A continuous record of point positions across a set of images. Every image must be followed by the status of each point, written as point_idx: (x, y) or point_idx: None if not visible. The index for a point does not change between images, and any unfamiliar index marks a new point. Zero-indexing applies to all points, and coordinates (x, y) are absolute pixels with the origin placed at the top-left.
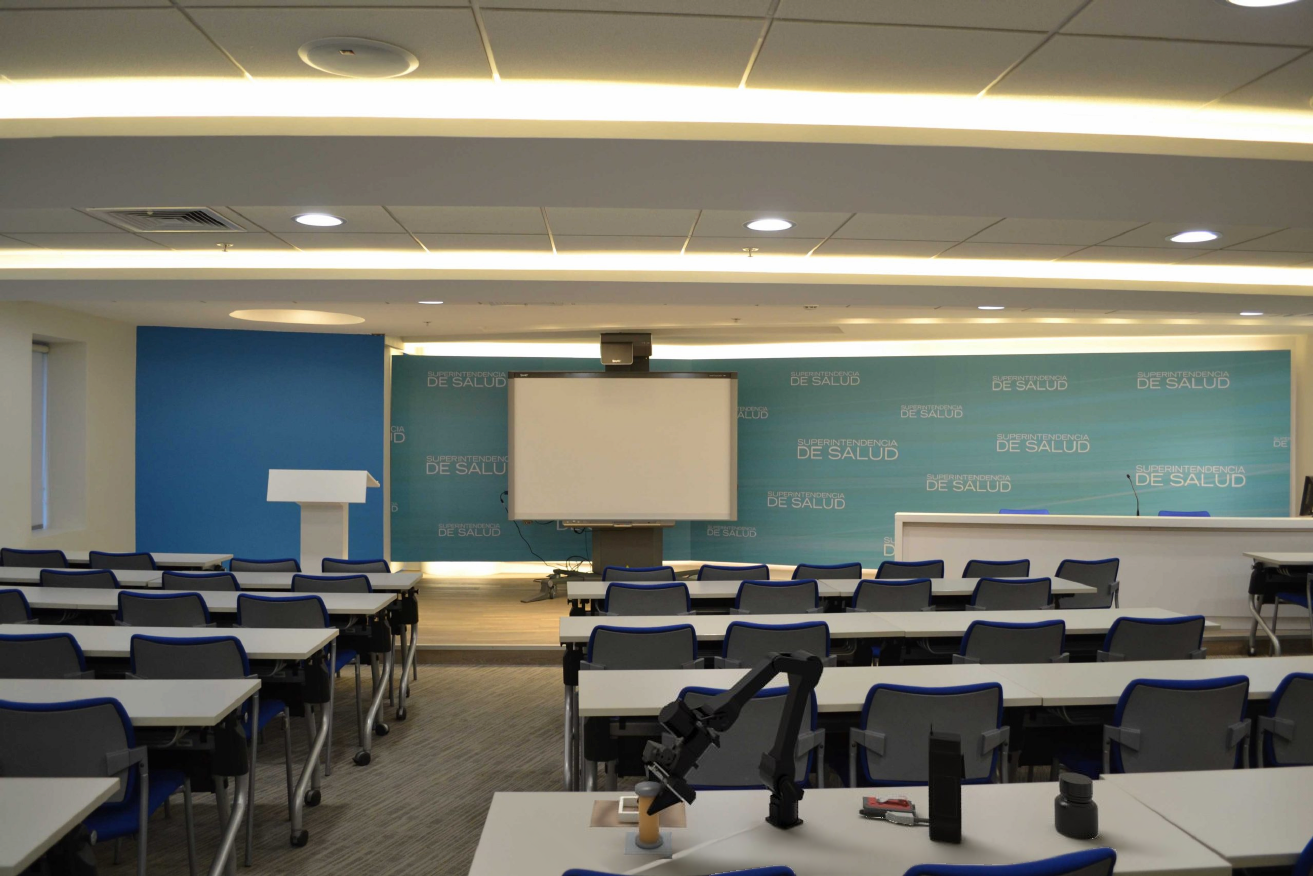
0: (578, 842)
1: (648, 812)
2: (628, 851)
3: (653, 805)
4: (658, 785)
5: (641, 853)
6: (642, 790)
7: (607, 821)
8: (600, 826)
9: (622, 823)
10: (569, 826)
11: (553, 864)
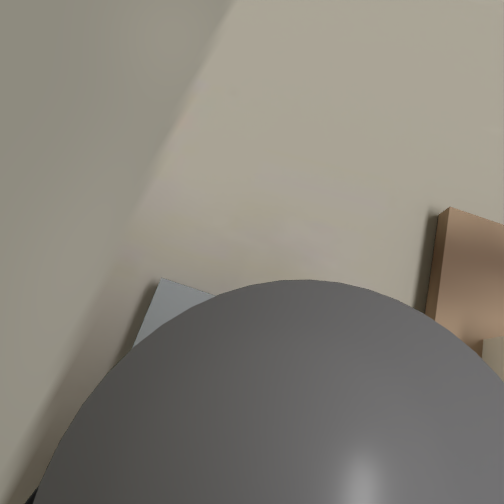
0: (355, 155)
1: None
2: (178, 302)
3: (30, 502)
4: None
5: None
6: (199, 376)
7: (492, 291)
8: (446, 248)
9: None
10: (486, 159)
11: (218, 48)
